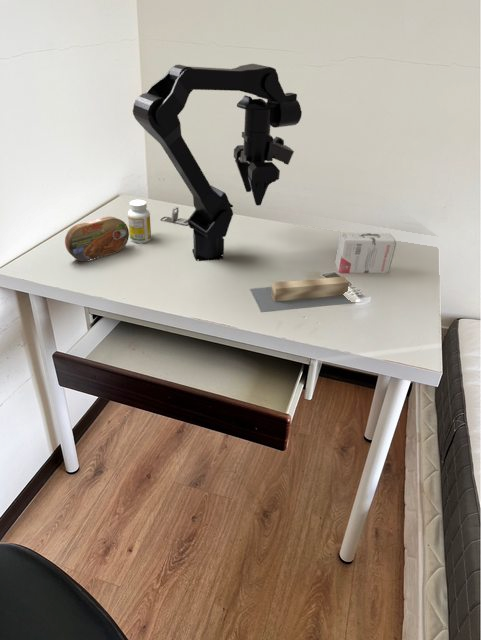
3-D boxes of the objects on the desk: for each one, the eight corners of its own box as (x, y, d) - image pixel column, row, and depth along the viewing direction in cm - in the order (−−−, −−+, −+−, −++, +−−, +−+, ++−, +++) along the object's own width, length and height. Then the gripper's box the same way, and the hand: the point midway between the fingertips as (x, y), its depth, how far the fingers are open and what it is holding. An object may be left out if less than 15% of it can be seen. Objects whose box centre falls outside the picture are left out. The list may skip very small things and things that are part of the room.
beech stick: (274, 301, 95) (275, 288, 93) (271, 295, 97) (272, 282, 95) (346, 294, 98) (349, 282, 97) (341, 288, 100) (344, 276, 99)
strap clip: (191, 223, 128) (191, 208, 126) (186, 227, 126) (186, 212, 123) (164, 218, 131) (164, 203, 128) (159, 221, 128) (158, 206, 126)
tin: (72, 265, 105) (66, 231, 100) (66, 260, 107) (60, 226, 102) (131, 248, 114) (128, 215, 109) (124, 243, 115) (121, 211, 111)
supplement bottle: (137, 245, 115) (134, 208, 109) (125, 238, 118) (122, 201, 113) (155, 239, 118) (153, 203, 113) (143, 232, 121) (141, 197, 116)
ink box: (333, 264, 111) (382, 265, 111) (338, 274, 107) (389, 276, 107) (339, 230, 106) (391, 232, 107) (344, 240, 102) (398, 241, 102)
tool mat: (260, 314, 92) (261, 312, 92) (249, 291, 99) (249, 288, 99) (362, 304, 97) (363, 301, 96) (344, 282, 104) (345, 280, 103)
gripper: (306, 139, 97) (297, 211, 106) (279, 120, 112) (274, 184, 120) (254, 140, 94) (250, 213, 103) (234, 120, 109) (232, 185, 118)
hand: (253, 198), depth 111 cm, fingers open, 9 cm apart
